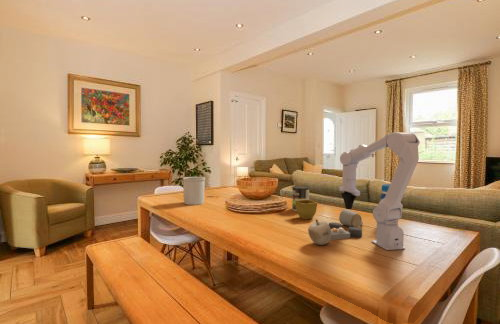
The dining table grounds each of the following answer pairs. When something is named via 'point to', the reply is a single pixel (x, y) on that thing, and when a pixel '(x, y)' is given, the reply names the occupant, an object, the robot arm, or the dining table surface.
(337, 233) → the grey egg carton
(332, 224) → the cord coil
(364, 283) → the dining table surface
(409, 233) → the dining table surface
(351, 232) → the cord coil
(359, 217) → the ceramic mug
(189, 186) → the utensil holder
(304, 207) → the flower pot
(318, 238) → the decorative object
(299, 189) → the coffee can
